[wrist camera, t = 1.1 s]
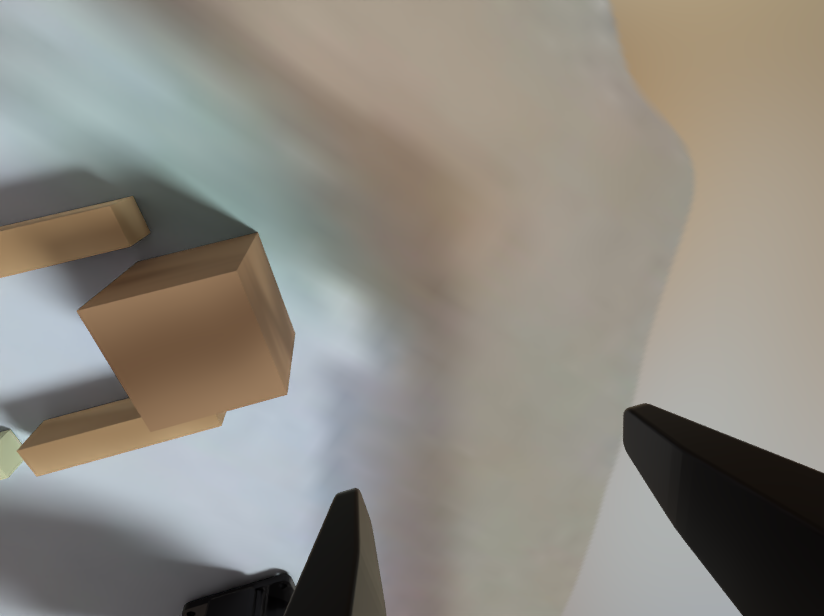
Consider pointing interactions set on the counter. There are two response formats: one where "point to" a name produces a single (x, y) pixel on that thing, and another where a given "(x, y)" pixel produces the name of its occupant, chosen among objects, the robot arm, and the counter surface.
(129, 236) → the tunnel walls
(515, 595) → the counter surface
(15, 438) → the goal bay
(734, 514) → the robot arm
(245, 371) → the walnut block
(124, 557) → the counter surface
